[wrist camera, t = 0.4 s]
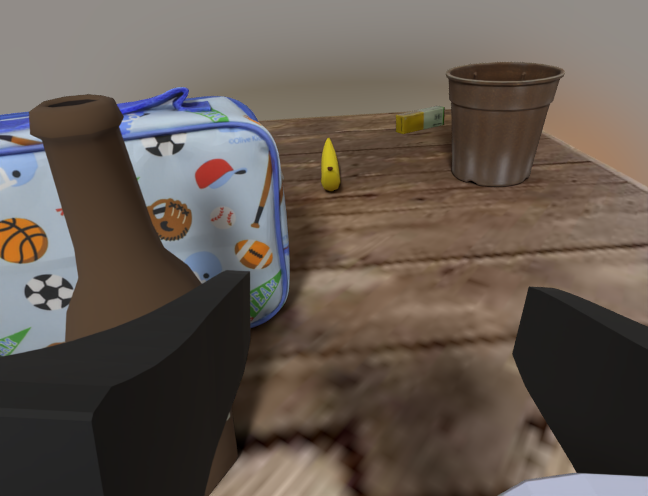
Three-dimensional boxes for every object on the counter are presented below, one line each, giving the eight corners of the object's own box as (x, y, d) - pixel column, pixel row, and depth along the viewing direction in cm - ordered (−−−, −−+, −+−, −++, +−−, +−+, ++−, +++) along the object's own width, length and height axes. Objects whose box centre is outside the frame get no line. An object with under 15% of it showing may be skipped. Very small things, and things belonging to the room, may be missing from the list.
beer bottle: (212, 394, 36) (133, 77, 24) (263, 462, 30) (195, 97, 18) (112, 450, 32) (-44, 103, 20) (150, 540, 26) (-33, 138, 14)
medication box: (436, 123, 103) (437, 105, 101) (444, 125, 101) (446, 107, 99) (394, 132, 98) (395, 114, 96) (402, 135, 96) (403, 116, 94)
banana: (337, 164, 81) (336, 129, 78) (342, 208, 65) (340, 166, 61) (321, 164, 81) (320, 130, 78) (322, 209, 65) (319, 167, 62)
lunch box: (287, 268, 51) (266, 64, 40) (315, 322, 43) (297, 82, 32) (20, 327, 44) (-95, 99, 33) (-11, 406, 36) (-180, 134, 25)
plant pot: (463, 198, 66) (477, 83, 57) (423, 163, 79) (429, 66, 71) (564, 186, 68) (591, 74, 60) (507, 153, 81) (523, 59, 73)
